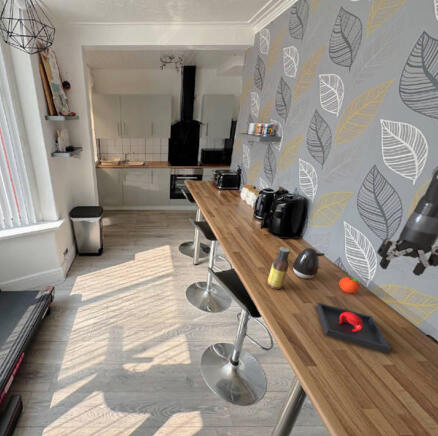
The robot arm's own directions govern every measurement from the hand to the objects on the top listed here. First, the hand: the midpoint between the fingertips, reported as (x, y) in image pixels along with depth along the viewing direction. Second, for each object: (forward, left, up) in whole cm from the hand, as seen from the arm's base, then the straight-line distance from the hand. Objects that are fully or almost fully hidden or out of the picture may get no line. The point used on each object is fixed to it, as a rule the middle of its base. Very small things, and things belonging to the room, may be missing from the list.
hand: (399, 270), depth 79 cm
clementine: (+1, -20, -26) cm, 33 cm away
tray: (+8, +5, -25) cm, 27 cm away
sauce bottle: (+32, -10, -26) cm, 42 cm away
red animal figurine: (+8, +5, -25) cm, 26 cm away
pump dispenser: (+18, -25, -26) cm, 40 cm away
